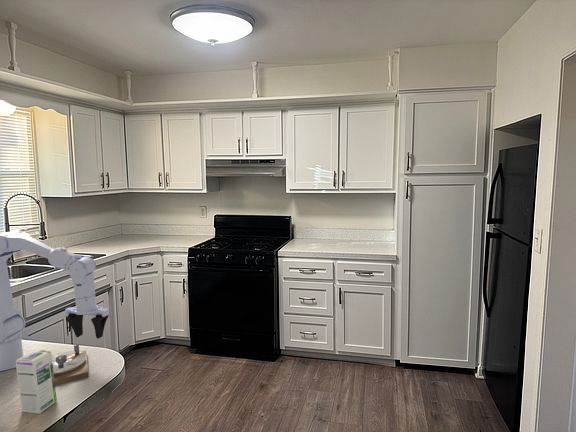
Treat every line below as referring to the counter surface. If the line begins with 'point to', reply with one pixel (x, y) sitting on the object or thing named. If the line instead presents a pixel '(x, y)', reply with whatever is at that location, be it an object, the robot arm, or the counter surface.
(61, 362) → the capstan dial
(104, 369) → the counter surface
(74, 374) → the tan base board
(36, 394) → the syrup box
